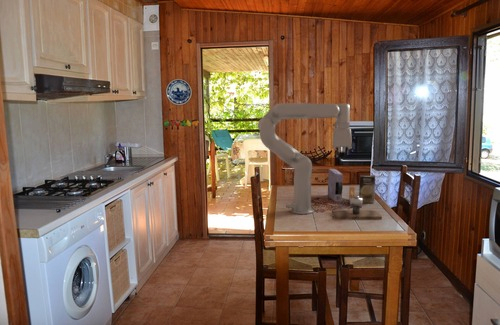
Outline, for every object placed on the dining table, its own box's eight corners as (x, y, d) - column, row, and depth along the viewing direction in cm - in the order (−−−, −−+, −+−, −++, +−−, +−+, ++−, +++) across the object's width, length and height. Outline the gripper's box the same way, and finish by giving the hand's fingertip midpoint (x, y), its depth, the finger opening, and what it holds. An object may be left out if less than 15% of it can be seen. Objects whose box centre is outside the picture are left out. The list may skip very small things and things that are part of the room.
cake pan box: (343, 202, 247) (343, 173, 245) (334, 202, 247) (335, 174, 245) (334, 195, 266) (335, 168, 264) (327, 195, 266) (327, 168, 264)
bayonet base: (334, 219, 213) (335, 208, 212) (331, 212, 225) (332, 202, 224) (381, 219, 211) (381, 208, 210) (376, 213, 223) (376, 202, 222)
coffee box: (358, 202, 246) (359, 176, 243) (358, 200, 252) (359, 174, 249) (374, 203, 243) (375, 177, 241) (374, 200, 249) (375, 175, 247)
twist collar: (363, 206, 214) (364, 192, 213) (351, 206, 214) (351, 192, 213) (356, 199, 228) (357, 186, 227) (345, 199, 228) (345, 186, 227)
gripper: (328, 126, 223) (327, 159, 225) (356, 126, 218) (355, 160, 221) (329, 125, 230) (328, 157, 232) (356, 125, 226) (355, 158, 228)
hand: (341, 159), depth 227 cm, fingers closed
